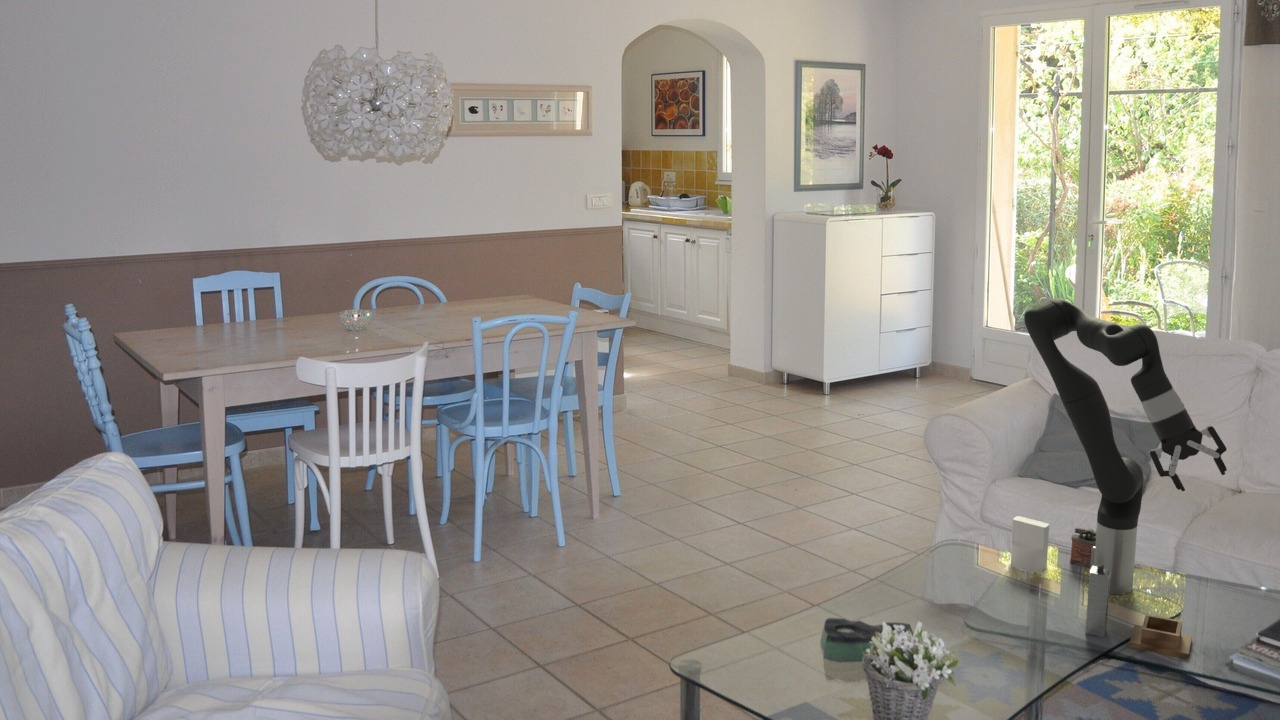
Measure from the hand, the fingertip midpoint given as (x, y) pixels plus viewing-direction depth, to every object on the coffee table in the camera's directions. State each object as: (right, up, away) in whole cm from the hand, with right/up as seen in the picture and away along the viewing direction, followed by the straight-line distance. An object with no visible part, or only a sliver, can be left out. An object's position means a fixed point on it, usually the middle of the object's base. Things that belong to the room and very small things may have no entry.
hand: (1203, 482), depth 239 cm
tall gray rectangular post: (-15, -37, +20) cm, 45 cm away
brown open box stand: (-3, -38, +14) cm, 41 cm away
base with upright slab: (-18, -28, +55) cm, 64 cm away
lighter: (-4, -28, +54) cm, 60 cm away
